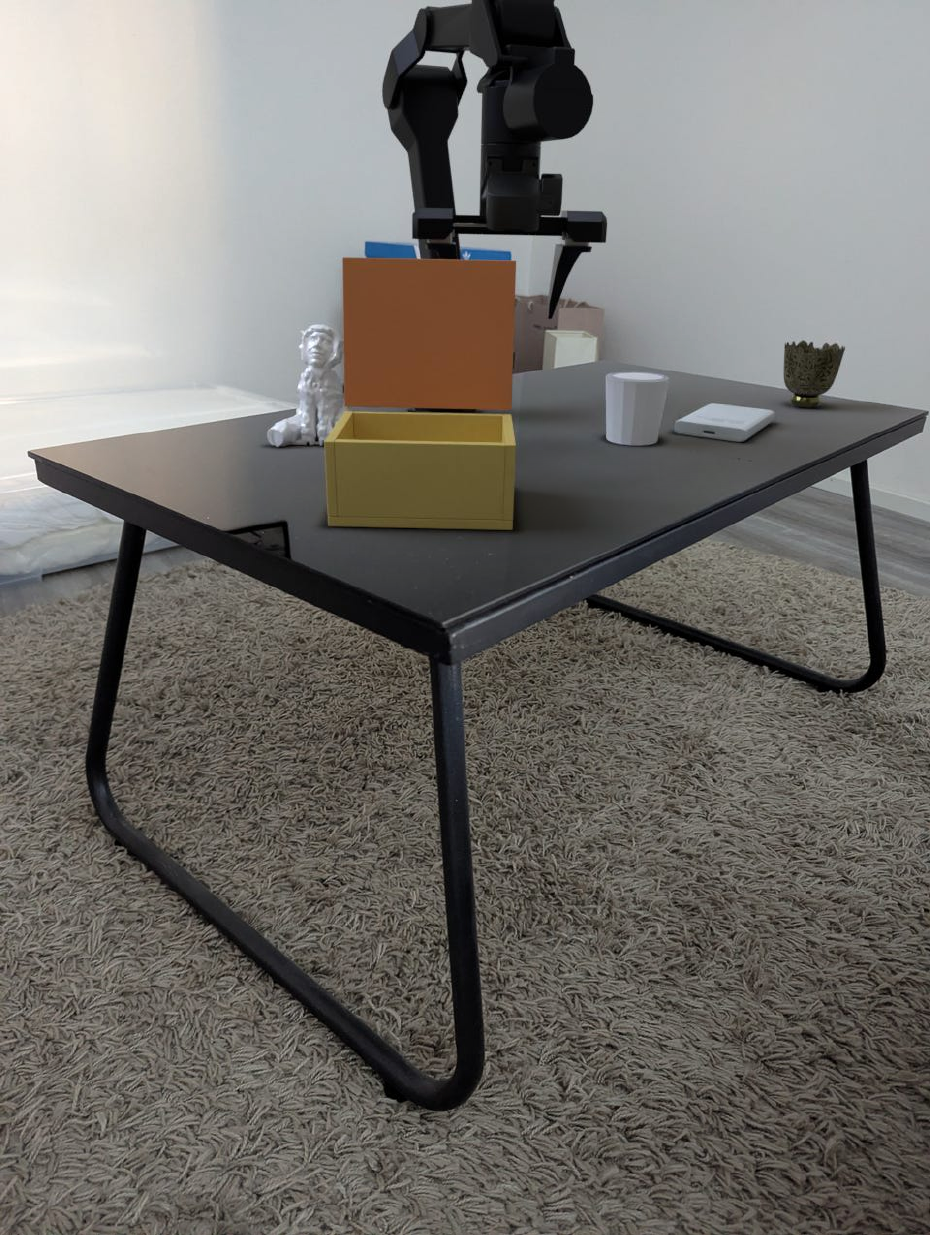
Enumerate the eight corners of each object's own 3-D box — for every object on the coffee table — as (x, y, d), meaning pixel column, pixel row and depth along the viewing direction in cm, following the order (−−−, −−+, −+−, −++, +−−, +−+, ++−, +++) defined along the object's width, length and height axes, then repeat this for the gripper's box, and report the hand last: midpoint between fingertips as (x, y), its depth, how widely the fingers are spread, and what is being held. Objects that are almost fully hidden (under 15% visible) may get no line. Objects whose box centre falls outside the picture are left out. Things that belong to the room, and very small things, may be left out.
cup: (839, 405, 121) (851, 343, 118) (827, 414, 115) (839, 349, 112) (783, 398, 124) (793, 338, 121) (768, 407, 119) (778, 344, 115)
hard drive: (773, 423, 109) (744, 443, 100) (707, 415, 113) (673, 433, 103) (775, 410, 109) (746, 428, 99) (708, 402, 112) (674, 418, 103)
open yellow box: (512, 530, 71) (516, 445, 68) (327, 526, 71) (323, 441, 68) (508, 489, 81) (511, 413, 79) (347, 485, 81) (344, 410, 79)
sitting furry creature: (265, 447, 94) (256, 327, 89) (290, 429, 102) (283, 318, 97) (354, 451, 93) (350, 331, 88) (371, 433, 101) (369, 321, 96)
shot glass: (662, 448, 96) (670, 382, 94) (598, 444, 98) (603, 379, 95) (663, 434, 103) (669, 372, 100) (602, 431, 104) (607, 369, 101)
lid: (516, 260, 75) (515, 261, 76) (342, 257, 75) (343, 258, 76) (511, 409, 78) (511, 409, 79) (344, 406, 78) (345, 406, 79)
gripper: (409, 137, 78) (410, 325, 84) (624, 142, 78) (608, 329, 85) (413, 145, 88) (414, 313, 94) (603, 149, 88) (591, 316, 95)
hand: (504, 317), depth 92 cm, fingers open, 9 cm apart
